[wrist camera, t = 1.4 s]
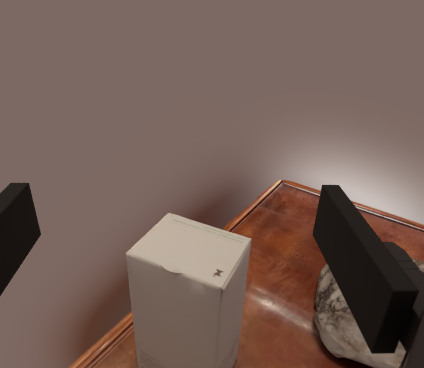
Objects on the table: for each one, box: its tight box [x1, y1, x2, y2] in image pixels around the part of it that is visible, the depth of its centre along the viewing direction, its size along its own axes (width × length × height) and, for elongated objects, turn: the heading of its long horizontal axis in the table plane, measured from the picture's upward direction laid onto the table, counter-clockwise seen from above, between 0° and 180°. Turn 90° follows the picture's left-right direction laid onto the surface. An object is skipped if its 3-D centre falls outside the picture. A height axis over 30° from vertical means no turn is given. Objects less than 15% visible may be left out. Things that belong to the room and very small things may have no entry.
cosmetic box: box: [126, 213, 251, 368], centre depth 31 cm, size 8×7×16 cm
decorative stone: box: [314, 258, 424, 368], centre depth 38 cm, size 20×14×10 cm
